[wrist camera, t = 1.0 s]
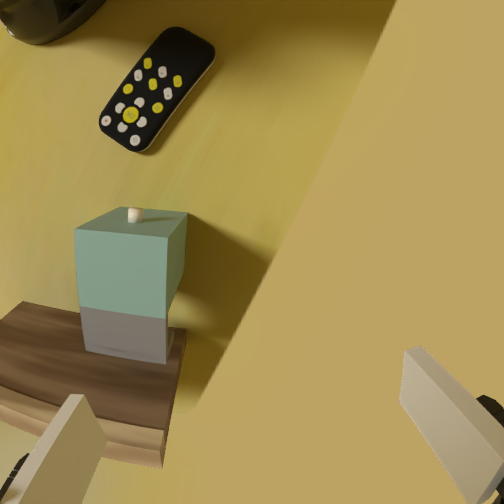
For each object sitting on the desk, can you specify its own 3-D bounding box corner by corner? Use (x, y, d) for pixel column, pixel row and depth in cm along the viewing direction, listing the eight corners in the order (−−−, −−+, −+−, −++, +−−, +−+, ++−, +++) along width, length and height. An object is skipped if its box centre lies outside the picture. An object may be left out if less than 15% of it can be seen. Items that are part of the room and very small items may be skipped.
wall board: (22, 299, 31) (-59, 373, 14) (186, 327, 33) (159, 451, 17) (25, 316, 31) (-50, 392, 15) (185, 345, 34) (162, 468, 17)
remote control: (222, 54, 25) (222, 48, 24) (144, 158, 28) (138, 158, 26) (174, 27, 24) (170, 19, 22) (98, 126, 27) (90, 125, 25)
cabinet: (120, 196, 28) (74, 214, 19) (189, 202, 29) (168, 222, 20) (120, 300, 32) (85, 350, 22) (182, 308, 32) (166, 364, 23)
